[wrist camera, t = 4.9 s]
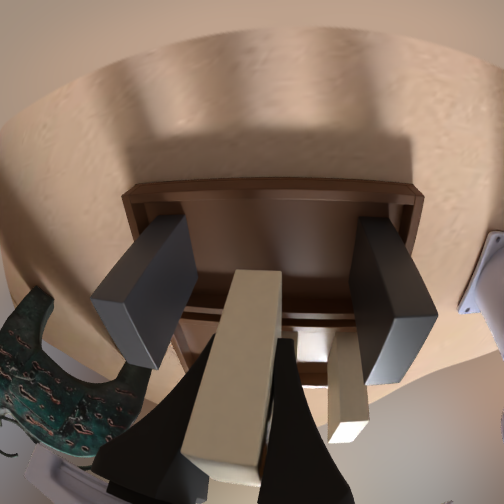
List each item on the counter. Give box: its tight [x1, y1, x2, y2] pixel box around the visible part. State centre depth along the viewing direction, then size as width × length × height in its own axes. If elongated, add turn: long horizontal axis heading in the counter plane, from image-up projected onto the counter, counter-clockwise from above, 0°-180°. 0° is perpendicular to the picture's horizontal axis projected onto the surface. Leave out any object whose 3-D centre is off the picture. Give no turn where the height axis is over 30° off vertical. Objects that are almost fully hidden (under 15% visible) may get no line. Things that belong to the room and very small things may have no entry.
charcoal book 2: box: [348, 216, 438, 385], centre depth 13 cm, size 2×5×8 cm, turn 4°
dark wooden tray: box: [121, 177, 425, 319], centre depth 17 cm, size 17×9×2 cm, turn 94°
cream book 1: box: [181, 269, 282, 487], centre depth 10 cm, size 2×5×8 cm, turn 4°
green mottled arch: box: [0, 286, 152, 471], centre depth 19 cm, size 20×6×20 cm, turn 55°
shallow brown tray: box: [171, 311, 357, 388], centre depth 22 cm, size 17×9×2 cm, turn 94°
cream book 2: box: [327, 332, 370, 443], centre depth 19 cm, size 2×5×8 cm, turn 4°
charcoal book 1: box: [90, 214, 198, 370], centre depth 15 cm, size 2×5×8 cm, turn 4°
